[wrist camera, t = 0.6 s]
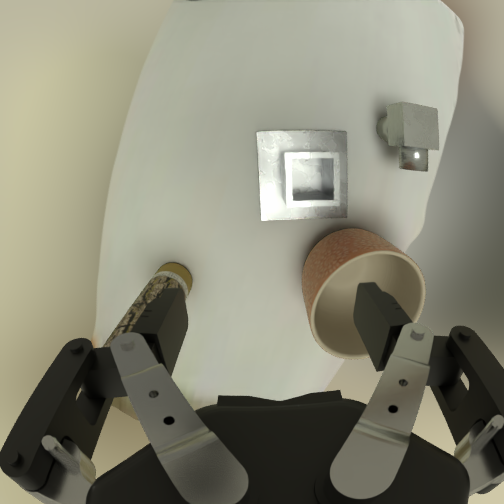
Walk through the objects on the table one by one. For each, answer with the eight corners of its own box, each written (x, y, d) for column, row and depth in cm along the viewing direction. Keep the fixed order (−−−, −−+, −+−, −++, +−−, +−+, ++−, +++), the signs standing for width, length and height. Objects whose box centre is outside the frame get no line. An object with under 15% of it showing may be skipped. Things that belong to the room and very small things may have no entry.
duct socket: (256, 132, 40) (256, 127, 33) (344, 131, 40) (361, 128, 32) (261, 219, 45) (262, 233, 37) (345, 216, 44) (361, 229, 37)
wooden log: (155, 260, 48) (86, 348, 24) (192, 262, 48) (141, 358, 24) (159, 294, 50) (103, 390, 27) (194, 296, 50) (154, 400, 27)
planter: (356, 317, 51) (382, 368, 37) (279, 289, 49) (287, 343, 35) (400, 242, 46) (445, 277, 32) (322, 202, 44) (352, 227, 30)
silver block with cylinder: (371, 110, 38) (402, 101, 28) (401, 114, 38) (437, 108, 27) (373, 164, 41) (404, 169, 31) (403, 166, 41) (438, 172, 31)
